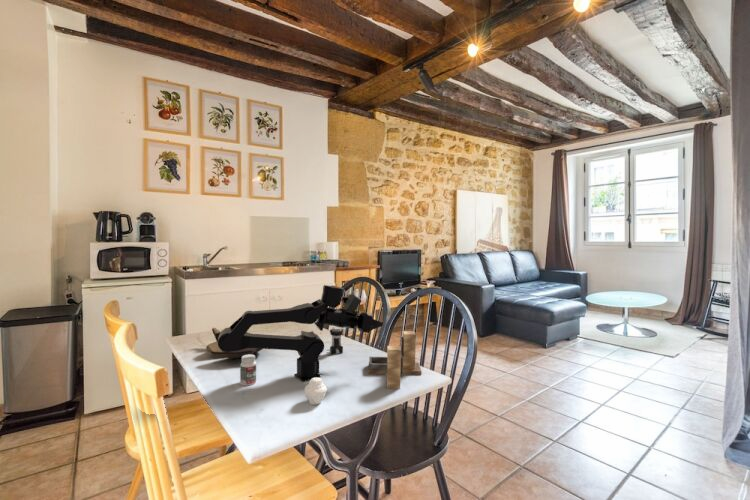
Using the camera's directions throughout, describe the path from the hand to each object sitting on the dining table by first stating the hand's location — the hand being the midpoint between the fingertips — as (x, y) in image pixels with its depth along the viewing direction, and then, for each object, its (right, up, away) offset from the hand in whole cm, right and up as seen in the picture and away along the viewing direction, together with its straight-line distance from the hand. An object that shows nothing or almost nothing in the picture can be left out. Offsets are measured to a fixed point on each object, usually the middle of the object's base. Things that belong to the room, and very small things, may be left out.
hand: (375, 322), depth 127 cm
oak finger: (+5, -16, -16) cm, 24 cm away
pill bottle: (-40, -16, -16) cm, 46 cm away
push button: (-16, -15, +13) cm, 26 cm away
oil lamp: (-54, -14, +11) cm, 57 cm away
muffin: (-17, -17, -28) cm, 37 cm away
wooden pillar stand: (+6, -16, -3) cm, 17 cm away
